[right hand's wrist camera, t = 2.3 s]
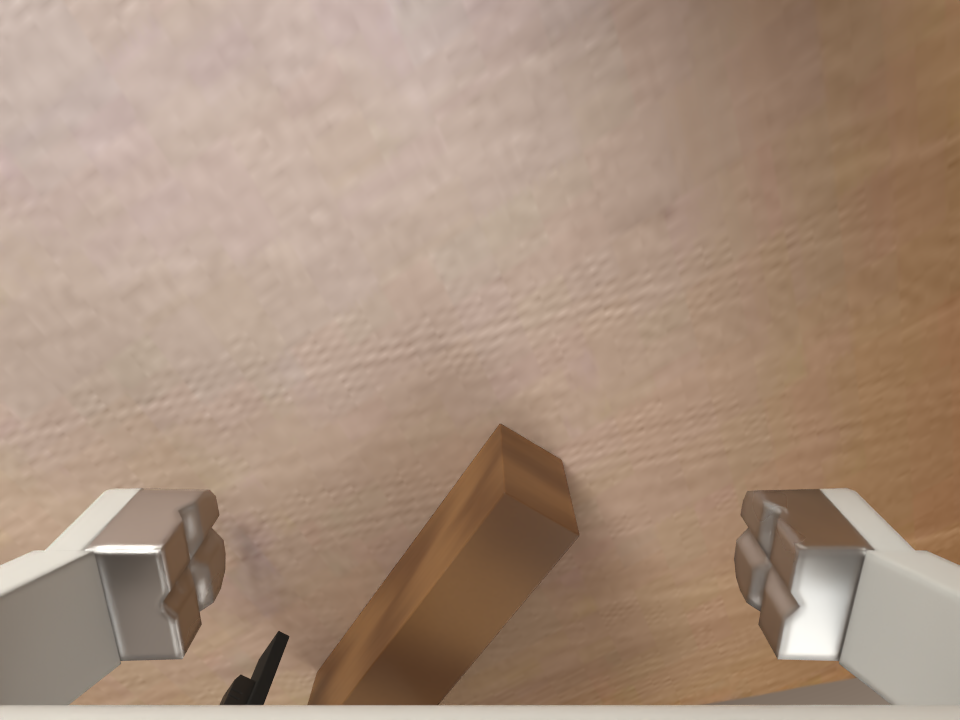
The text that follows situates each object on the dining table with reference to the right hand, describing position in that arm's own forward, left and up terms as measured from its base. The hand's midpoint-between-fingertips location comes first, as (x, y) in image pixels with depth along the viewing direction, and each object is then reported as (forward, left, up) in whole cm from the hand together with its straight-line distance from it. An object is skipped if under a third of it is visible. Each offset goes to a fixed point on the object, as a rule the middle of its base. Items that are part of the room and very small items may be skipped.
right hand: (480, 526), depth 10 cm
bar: (+18, +15, -28) cm, 36 cm away
